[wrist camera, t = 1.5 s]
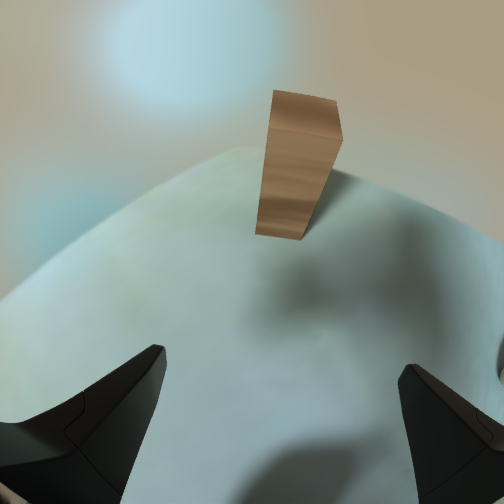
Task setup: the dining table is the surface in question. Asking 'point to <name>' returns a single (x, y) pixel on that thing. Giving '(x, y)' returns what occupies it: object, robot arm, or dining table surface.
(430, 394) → the robot arm
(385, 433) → the dining table surface
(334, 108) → the walnut block
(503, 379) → the donut
